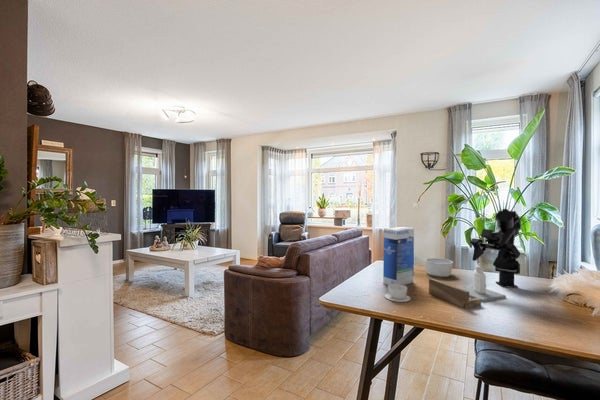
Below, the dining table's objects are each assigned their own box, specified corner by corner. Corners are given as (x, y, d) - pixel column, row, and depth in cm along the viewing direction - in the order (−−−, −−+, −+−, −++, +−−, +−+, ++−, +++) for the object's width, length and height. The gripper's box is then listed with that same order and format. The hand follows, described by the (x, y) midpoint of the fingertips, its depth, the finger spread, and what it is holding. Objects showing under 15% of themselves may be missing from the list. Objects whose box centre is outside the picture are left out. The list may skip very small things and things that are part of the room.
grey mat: (476, 288, 131) (476, 285, 131) (505, 297, 119) (506, 295, 119) (454, 291, 126) (454, 289, 126) (482, 302, 114) (482, 299, 114)
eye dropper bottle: (473, 293, 121) (473, 264, 121) (473, 289, 126) (473, 261, 126) (485, 294, 119) (486, 265, 119) (485, 290, 124) (485, 262, 124)
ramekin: (436, 278, 146) (437, 264, 146) (419, 271, 158) (419, 258, 158) (458, 276, 149) (459, 262, 149) (440, 270, 162) (440, 257, 162)
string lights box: (401, 278, 145) (401, 226, 144) (414, 282, 139) (415, 228, 138) (382, 283, 138) (382, 228, 137) (395, 287, 131) (396, 230, 131)
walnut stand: (442, 290, 127) (442, 276, 127) (480, 305, 110) (481, 289, 110) (428, 292, 125) (428, 278, 125) (466, 308, 108) (466, 292, 108)
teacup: (412, 303, 113) (412, 291, 113) (385, 302, 115) (385, 290, 115) (408, 294, 123) (408, 283, 123) (383, 293, 125) (383, 282, 125)
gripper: (473, 220, 133) (454, 246, 130) (515, 224, 116) (495, 254, 112) (485, 236, 136) (467, 262, 133) (529, 243, 119) (509, 273, 115)
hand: (483, 262), depth 123 cm, fingers open, 9 cm apart
